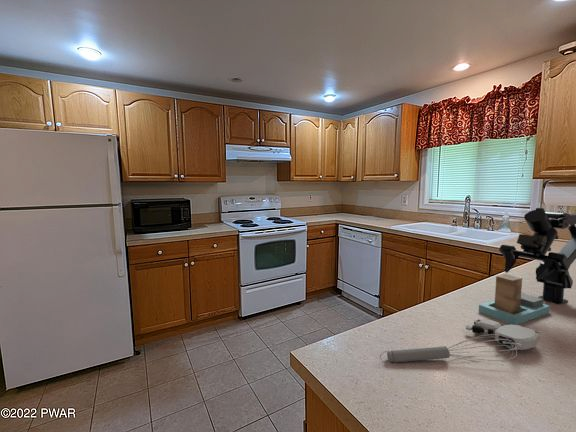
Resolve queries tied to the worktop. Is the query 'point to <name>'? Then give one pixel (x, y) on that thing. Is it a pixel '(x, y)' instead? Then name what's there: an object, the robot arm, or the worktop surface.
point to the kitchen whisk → (437, 352)
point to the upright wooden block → (508, 293)
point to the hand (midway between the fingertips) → (520, 275)
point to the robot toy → (506, 333)
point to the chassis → (528, 310)
